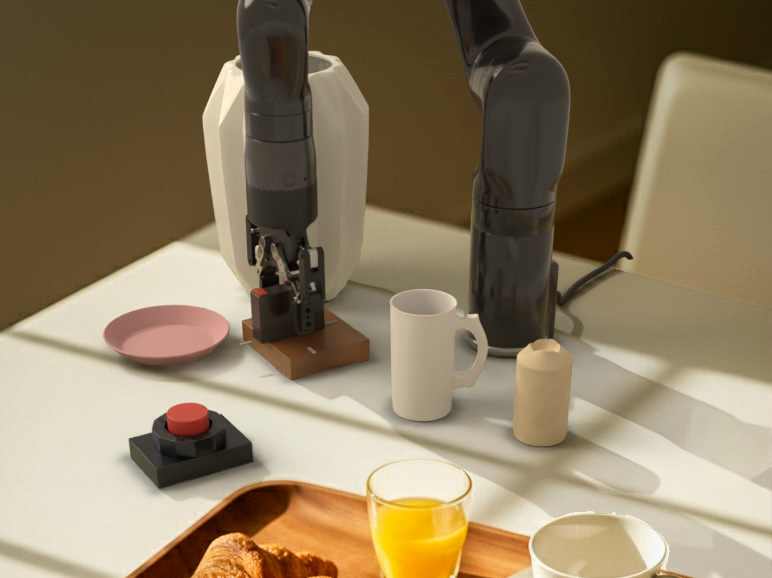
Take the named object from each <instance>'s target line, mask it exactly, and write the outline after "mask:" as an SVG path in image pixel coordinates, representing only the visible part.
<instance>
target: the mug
mask: <svg viewBox="0 0 772 578" xmlns="http://www.w3.org/2000/svg"><path fill="white" fill-rule="evenodd" d="M389 305H390V306H389V308H390V309H389V310H390V312H389V316H390V318H389V324H390V325H389V327H390V328H389V329H390V332H389V333H390V334H389V335H390V366H391V367H390V371H391V373H390V374H391V398H392V400H391V401H392V402H391V404H392V410H393V412H394V413H395V414H396V416H399V417H400V418H402V419H405V420H408V421H413V422H433V421H437V420H440V419H443V418H445V417H446V416H448V415H449V414H450V412H451V410H452V406H453V405H452V403H453V392H454V390H456V389H460V388H461V389H462V388H465V389H472V388H473V387H474V386H475V385H476V383H477V380H478V378H479V376H480V374H481V373H482V370H483V368H484V366H485V364H486V360H487V357H488V354H487V352H488V343H487V338H486V335H485V332H484V330H483V327H482V325H481V323H480V321H479V316H478V314H467V315H466V316H465V317H464V316H459V315H458V313H457V308H458V307H457V306H458V300H457V298H455V297H454V295H452V294H449V292H446V291H445V292H444V291H441V290H438V289H437V290H435V289H430V288H429V289H428V288H415V289H408V290H405V291H404V290H403V291H401V292H398V293H396V294H395V295H393V296H392V297H390V299H389ZM460 330H465V331H466V330H468V331H470V332H471V333H472V334H473V335H474V337H475V339H476V341H477V345H478V351H477V353H476V357H475V360H474V362H473V365H472V366H471V368H469V369H468V370H467V371H465V372H459V371H456V370H455V366H454V365H455V348H456V347H455V346H456V345H455V344H456V333H457V332H458V331H460Z"/></svg>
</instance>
